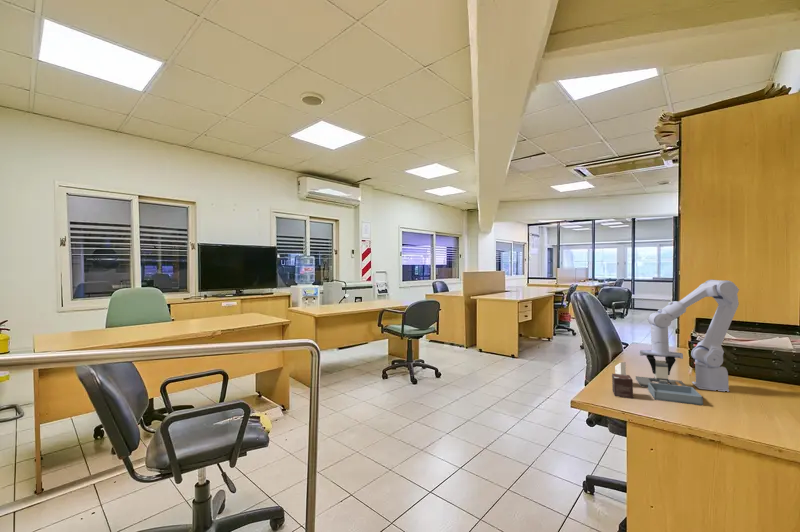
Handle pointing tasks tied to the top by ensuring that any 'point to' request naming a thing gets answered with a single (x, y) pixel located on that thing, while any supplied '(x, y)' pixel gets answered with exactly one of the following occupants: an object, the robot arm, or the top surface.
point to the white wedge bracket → (620, 368)
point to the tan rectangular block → (661, 370)
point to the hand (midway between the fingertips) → (660, 373)
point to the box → (622, 385)
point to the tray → (675, 393)
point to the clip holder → (644, 381)
